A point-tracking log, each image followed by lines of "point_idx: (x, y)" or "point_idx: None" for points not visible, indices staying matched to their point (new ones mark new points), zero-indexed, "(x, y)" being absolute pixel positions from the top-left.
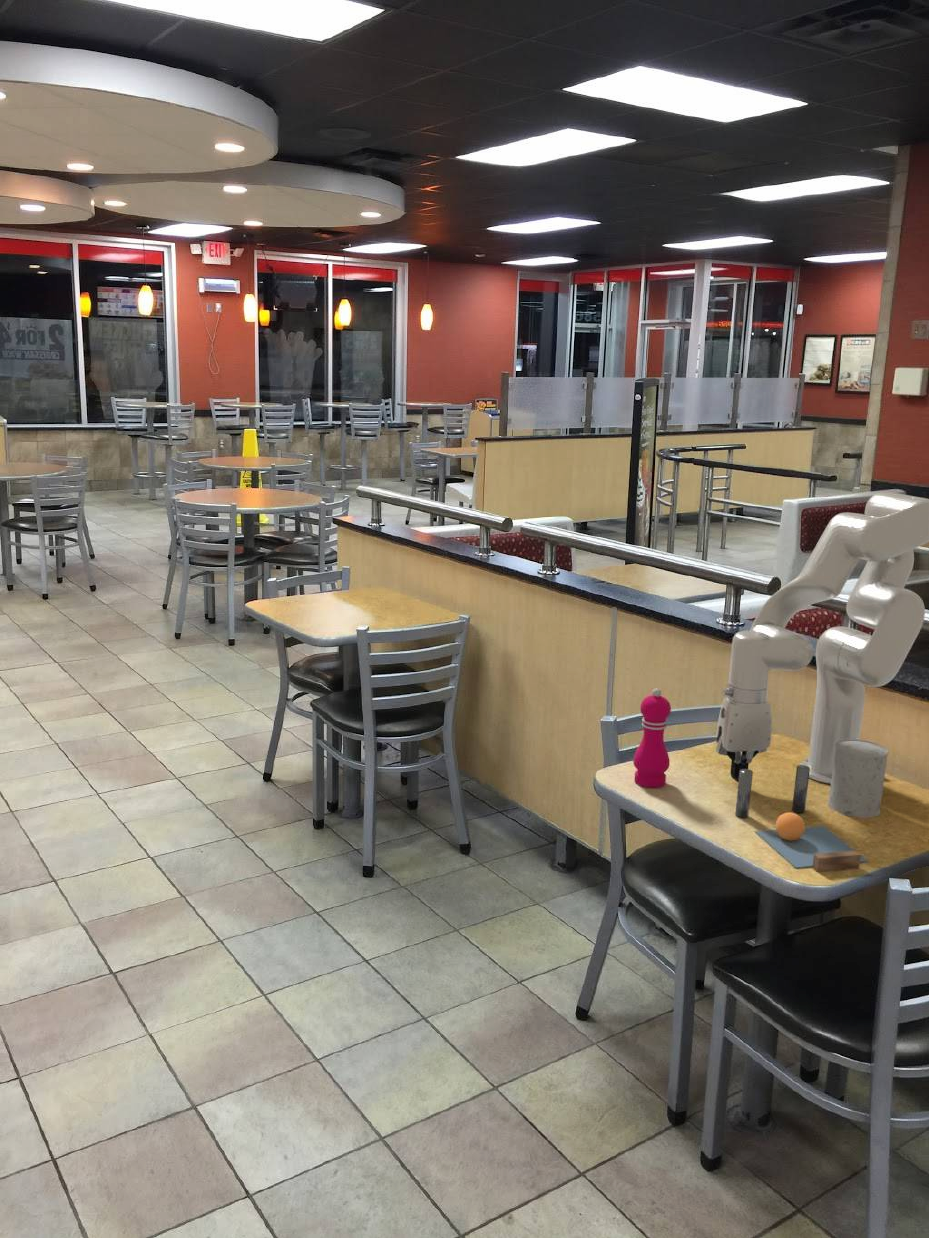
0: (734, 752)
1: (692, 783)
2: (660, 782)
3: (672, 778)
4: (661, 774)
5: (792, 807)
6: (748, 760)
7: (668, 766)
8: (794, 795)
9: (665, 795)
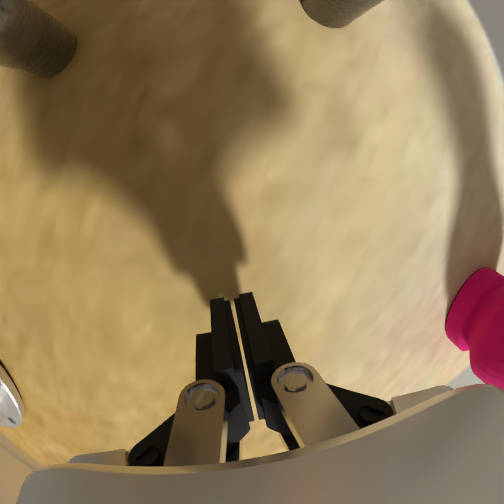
0: (353, 429)
1: (391, 315)
2: (484, 278)
3: (419, 339)
4: (492, 298)
5: (68, 42)
6: (206, 397)
7: (499, 316)
8: (39, 15)
9: (485, 218)
